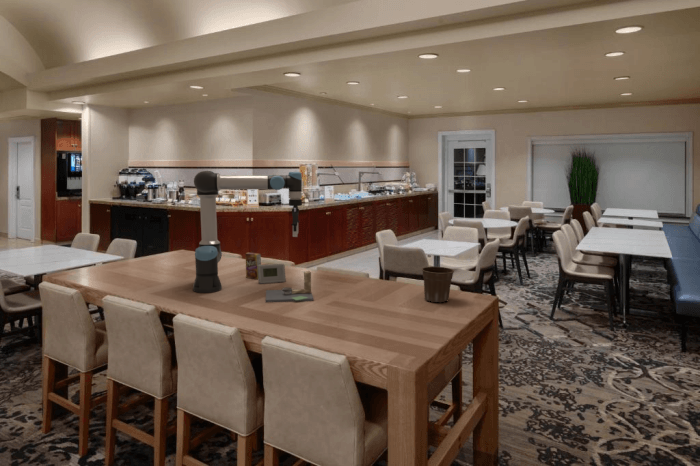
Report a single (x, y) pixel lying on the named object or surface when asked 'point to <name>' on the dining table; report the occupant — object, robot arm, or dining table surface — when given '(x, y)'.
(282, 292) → the dial board
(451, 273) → the plant pot
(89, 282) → the dining table surface
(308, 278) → the lever
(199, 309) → the dining table surface
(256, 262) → the candy box
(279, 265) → the digital clock
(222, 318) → the dining table surface
